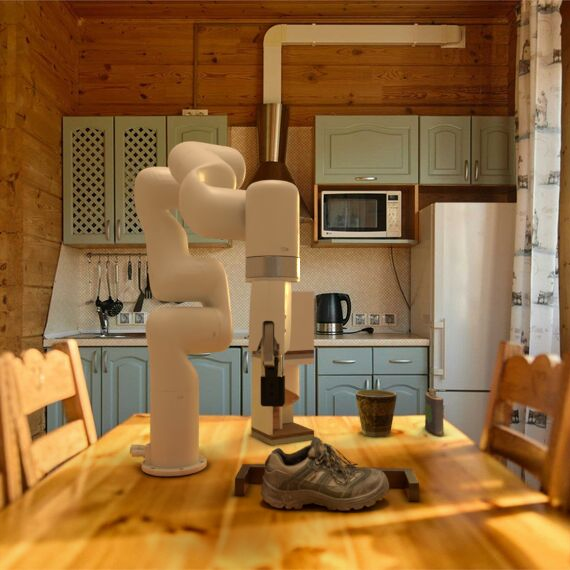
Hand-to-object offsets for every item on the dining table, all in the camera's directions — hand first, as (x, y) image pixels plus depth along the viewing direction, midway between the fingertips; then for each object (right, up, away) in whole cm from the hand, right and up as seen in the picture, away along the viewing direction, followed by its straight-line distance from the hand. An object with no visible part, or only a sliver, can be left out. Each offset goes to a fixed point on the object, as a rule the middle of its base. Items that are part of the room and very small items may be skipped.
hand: (273, 405), depth 74 cm
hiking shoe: (+8, -19, +14) cm, 25 cm away
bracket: (+9, -19, +20) cm, 29 cm away
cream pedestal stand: (+1, -20, +56) cm, 59 cm away
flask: (+39, -21, +61) cm, 75 cm away
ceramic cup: (+23, -20, +58) cm, 65 cm away
